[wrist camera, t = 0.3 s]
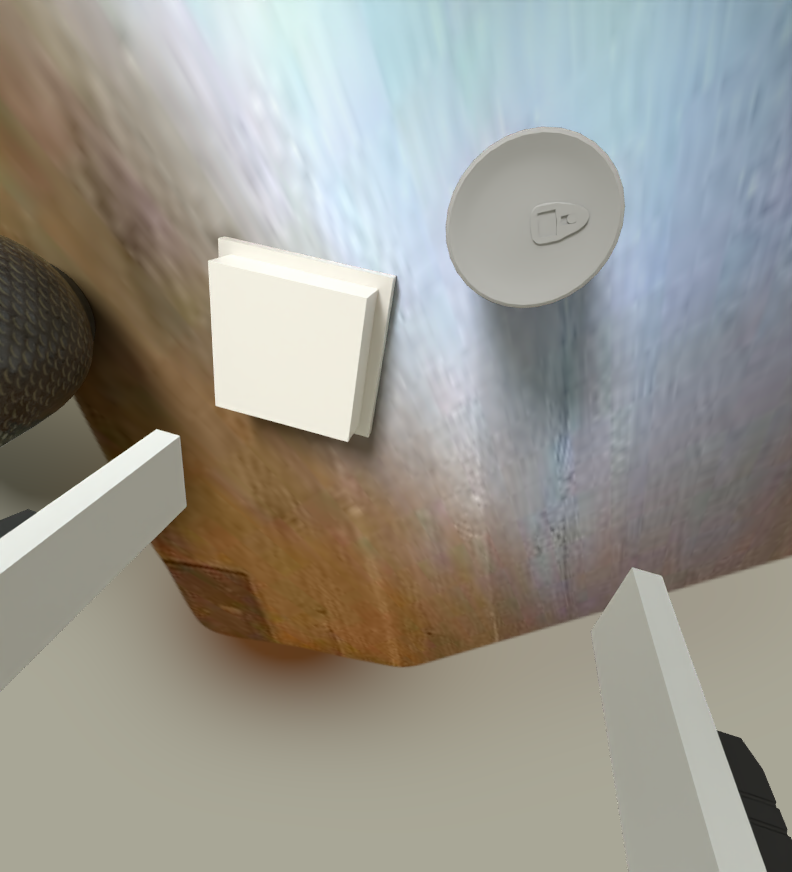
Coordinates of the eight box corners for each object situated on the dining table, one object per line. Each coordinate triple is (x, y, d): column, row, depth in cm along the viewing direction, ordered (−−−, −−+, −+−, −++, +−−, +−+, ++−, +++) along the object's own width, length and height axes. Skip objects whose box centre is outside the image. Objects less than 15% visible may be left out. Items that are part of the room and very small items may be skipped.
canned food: (608, 236, 30) (647, 264, 21) (492, 290, 33) (482, 335, 24) (569, 111, 27) (595, 79, 18) (448, 183, 30) (417, 188, 21)
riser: (225, 236, 36) (194, 243, 32) (396, 275, 34) (382, 286, 31) (230, 393, 43) (205, 412, 40) (371, 432, 42) (358, 454, 38)
